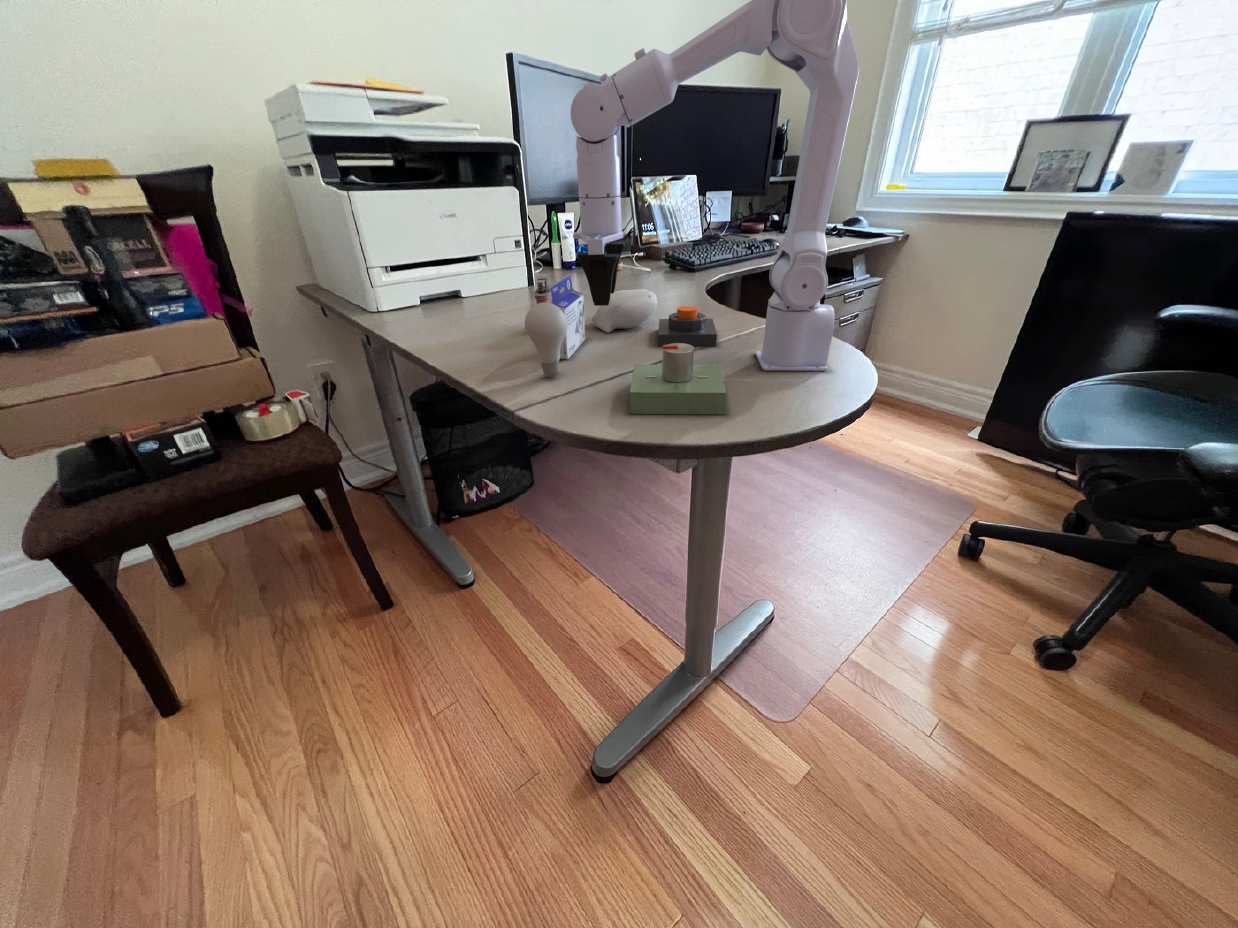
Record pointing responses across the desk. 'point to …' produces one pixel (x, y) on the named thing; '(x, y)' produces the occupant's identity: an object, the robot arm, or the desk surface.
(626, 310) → the shell shaped sculpture
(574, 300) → the ink box
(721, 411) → the panel
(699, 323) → the button base
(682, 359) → the lock knob
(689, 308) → the button
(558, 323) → the lightbulb
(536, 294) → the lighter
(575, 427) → the desk surface
